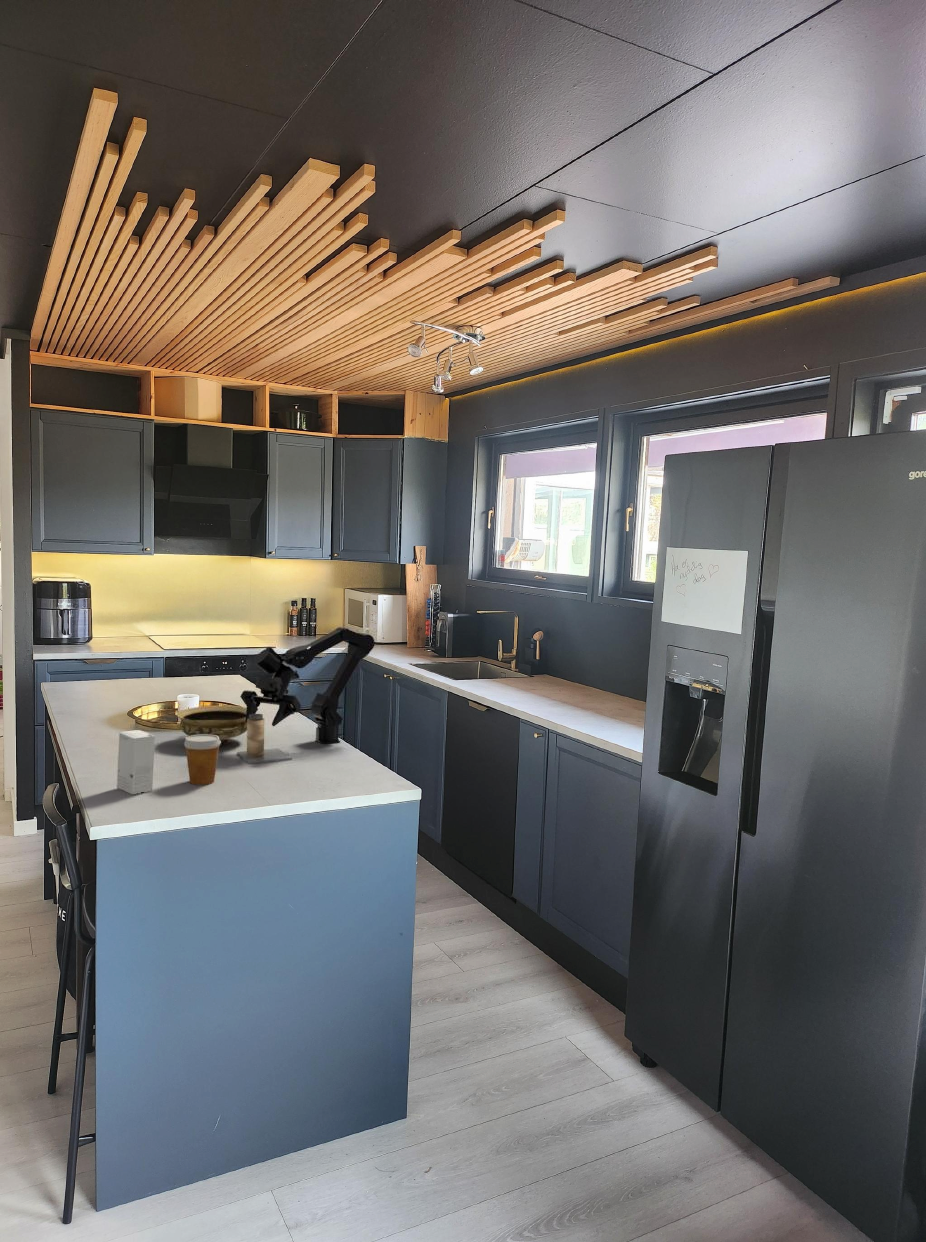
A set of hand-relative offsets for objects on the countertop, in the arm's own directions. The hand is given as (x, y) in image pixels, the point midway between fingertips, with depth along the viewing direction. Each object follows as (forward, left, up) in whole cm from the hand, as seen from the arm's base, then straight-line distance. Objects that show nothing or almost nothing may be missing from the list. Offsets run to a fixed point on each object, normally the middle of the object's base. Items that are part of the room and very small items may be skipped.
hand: (259, 723), depth 253 cm
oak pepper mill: (+2, +1, -9) cm, 10 cm away
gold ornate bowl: (+8, -22, -10) cm, 26 cm away
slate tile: (-1, +1, -10) cm, 10 cm away
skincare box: (+39, +22, -10) cm, 46 cm away
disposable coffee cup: (+22, +21, -10) cm, 32 cm away
